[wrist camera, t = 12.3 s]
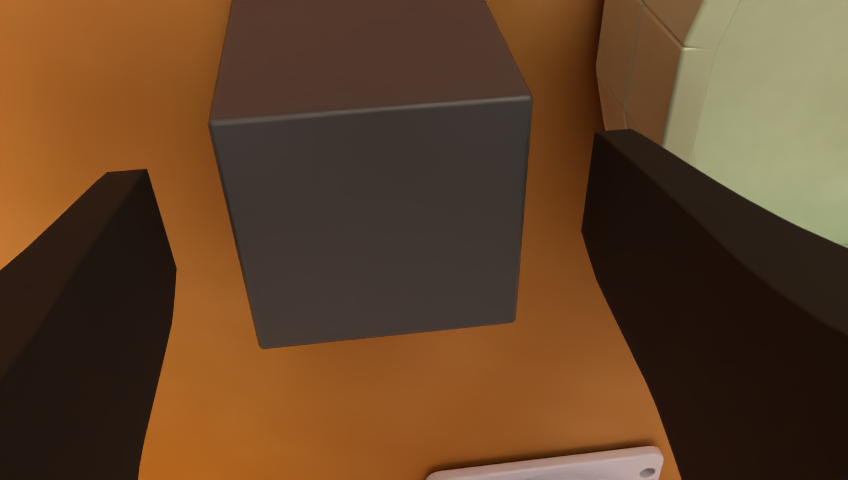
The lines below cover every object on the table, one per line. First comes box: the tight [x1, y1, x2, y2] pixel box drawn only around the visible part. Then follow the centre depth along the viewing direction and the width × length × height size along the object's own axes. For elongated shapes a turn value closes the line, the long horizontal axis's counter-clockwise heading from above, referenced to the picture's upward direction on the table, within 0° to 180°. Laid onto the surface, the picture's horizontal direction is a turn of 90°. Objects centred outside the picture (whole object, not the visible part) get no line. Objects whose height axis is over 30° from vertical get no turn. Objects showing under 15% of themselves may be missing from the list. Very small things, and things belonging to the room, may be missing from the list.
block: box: [208, 0, 533, 349], centre depth 14 cm, size 4×4×6 cm
